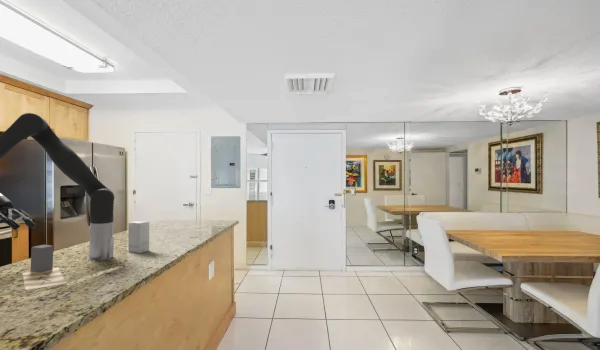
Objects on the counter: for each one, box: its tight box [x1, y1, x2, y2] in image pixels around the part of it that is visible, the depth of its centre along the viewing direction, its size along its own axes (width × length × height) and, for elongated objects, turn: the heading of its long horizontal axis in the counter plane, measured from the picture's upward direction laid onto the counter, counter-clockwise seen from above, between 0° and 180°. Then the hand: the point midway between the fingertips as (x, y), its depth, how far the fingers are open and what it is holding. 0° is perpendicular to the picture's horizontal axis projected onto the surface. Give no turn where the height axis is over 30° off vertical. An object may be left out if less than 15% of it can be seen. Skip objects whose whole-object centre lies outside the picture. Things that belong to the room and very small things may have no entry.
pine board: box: [22, 267, 68, 291], centre depth 113 cm, size 24×11×1 cm, turn 44°
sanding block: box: [29, 244, 54, 274], centre depth 119 cm, size 5×4×10 cm
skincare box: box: [127, 220, 150, 254], centre depth 160 cm, size 8×7×16 cm
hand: (26, 227), depth 122 cm, fingers open, 8 cm apart
